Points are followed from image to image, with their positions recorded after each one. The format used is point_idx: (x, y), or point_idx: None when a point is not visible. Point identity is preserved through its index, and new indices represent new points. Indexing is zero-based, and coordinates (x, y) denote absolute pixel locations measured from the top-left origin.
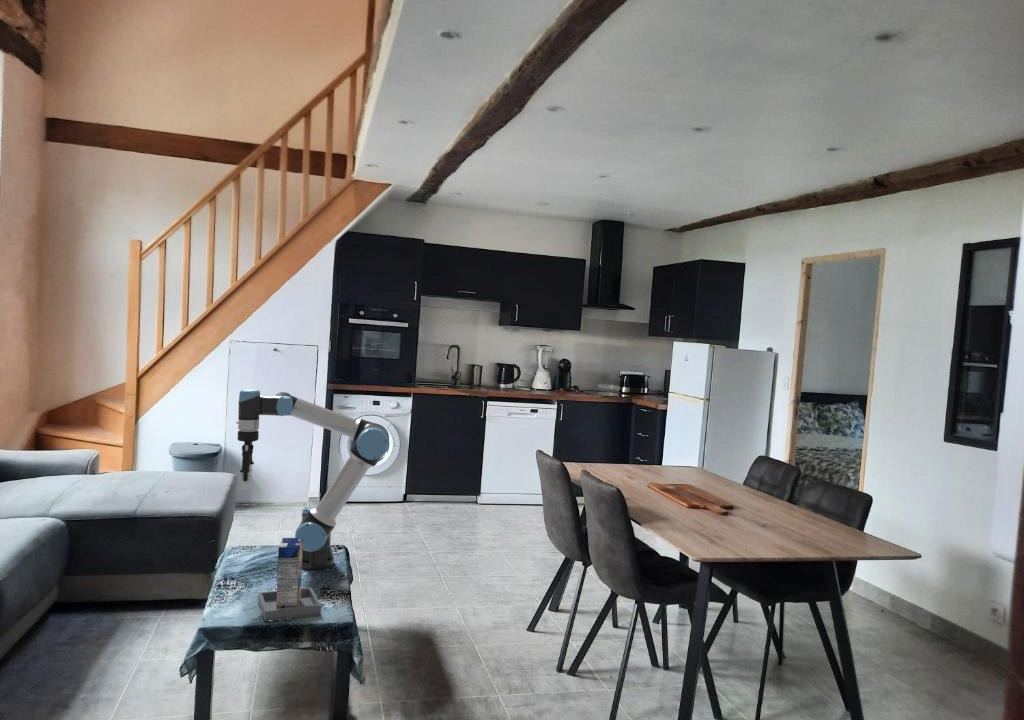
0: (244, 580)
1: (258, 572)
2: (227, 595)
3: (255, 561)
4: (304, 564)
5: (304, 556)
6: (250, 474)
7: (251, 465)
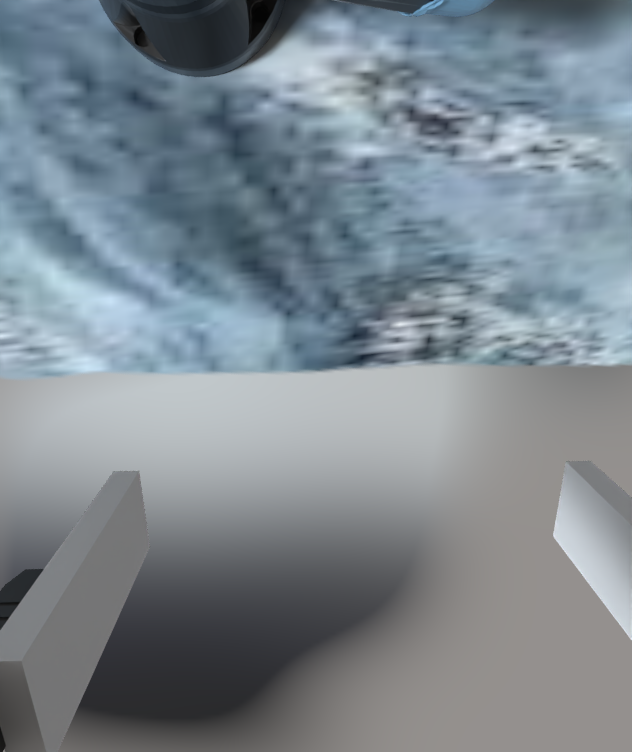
0: (386, 291)
1: (298, 244)
2: (532, 334)
3: (154, 266)
4: (273, 21)
5: (248, 9)
6: (103, 544)
7: (25, 662)
